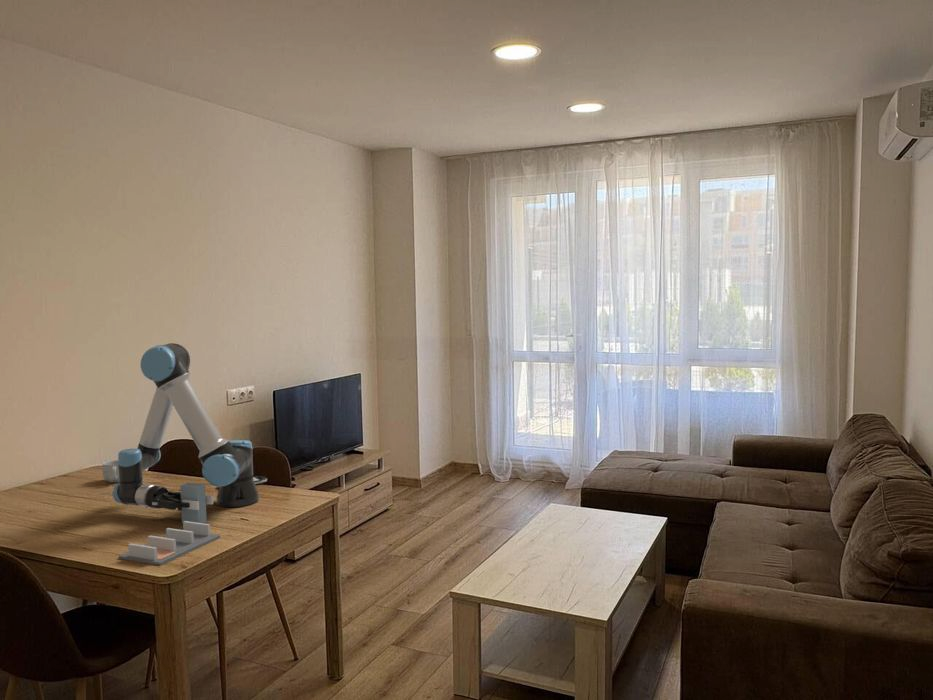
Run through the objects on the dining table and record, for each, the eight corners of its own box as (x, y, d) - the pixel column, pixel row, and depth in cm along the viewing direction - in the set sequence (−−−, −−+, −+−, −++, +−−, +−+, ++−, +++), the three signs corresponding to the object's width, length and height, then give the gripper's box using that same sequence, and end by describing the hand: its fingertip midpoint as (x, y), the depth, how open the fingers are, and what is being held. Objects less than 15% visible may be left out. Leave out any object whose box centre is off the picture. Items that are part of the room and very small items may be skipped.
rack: (180, 531, 239) (180, 519, 239) (220, 537, 233) (219, 524, 233) (118, 558, 216) (118, 544, 216) (160, 565, 210) (159, 550, 210)
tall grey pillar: (190, 519, 252) (188, 482, 251) (206, 521, 250) (205, 484, 249) (181, 522, 249) (180, 485, 248) (198, 525, 246) (196, 487, 245)
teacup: (108, 478, 310) (107, 459, 309) (135, 477, 311) (134, 458, 310) (96, 486, 296) (94, 467, 295) (124, 485, 297) (123, 466, 296)
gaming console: (223, 492, 287) (223, 486, 287) (215, 487, 294) (215, 481, 294) (270, 484, 299) (269, 478, 299) (261, 479, 306) (261, 473, 306)
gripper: (173, 499, 264) (224, 506, 256) (131, 514, 247) (185, 522, 238) (172, 479, 264) (224, 484, 255) (130, 493, 246) (184, 499, 238)
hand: (205, 503), depth 247 cm, fingers open, 6 cm apart
